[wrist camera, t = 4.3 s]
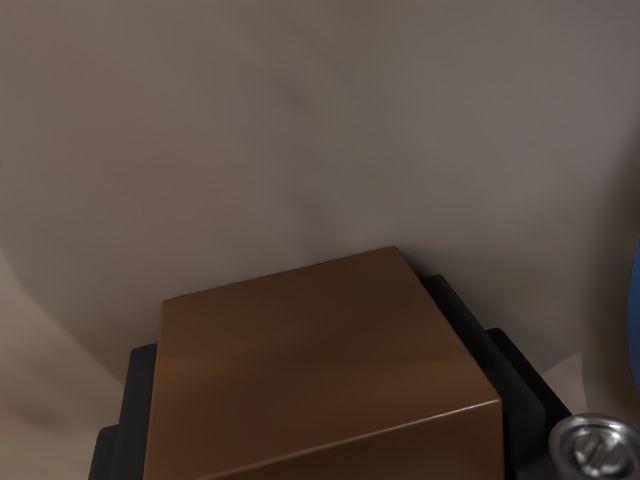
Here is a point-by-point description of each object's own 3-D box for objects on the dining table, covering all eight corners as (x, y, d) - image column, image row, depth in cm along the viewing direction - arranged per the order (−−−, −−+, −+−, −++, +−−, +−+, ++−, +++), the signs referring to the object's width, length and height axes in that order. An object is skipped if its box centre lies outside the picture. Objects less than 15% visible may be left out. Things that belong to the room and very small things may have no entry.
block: (395, 243, 11) (504, 398, 7) (417, 420, 13) (512, 617, 9) (160, 300, 11) (138, 497, 7) (219, 472, 13) (229, 702, 9)
